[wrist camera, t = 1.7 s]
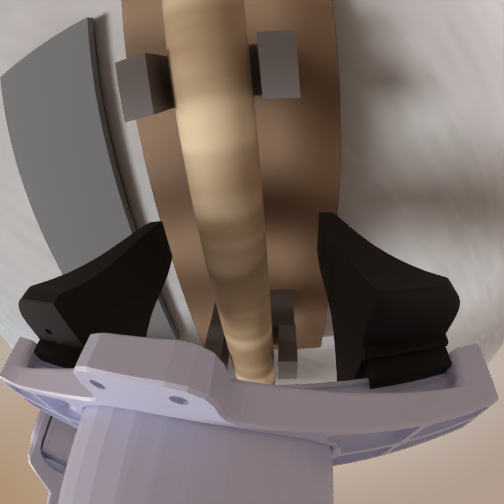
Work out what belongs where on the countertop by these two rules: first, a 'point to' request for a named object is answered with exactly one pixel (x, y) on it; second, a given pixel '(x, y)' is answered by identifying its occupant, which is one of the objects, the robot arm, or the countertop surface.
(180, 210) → the hook stand
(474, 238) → the countertop surface
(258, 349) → the rail
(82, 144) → the mat
